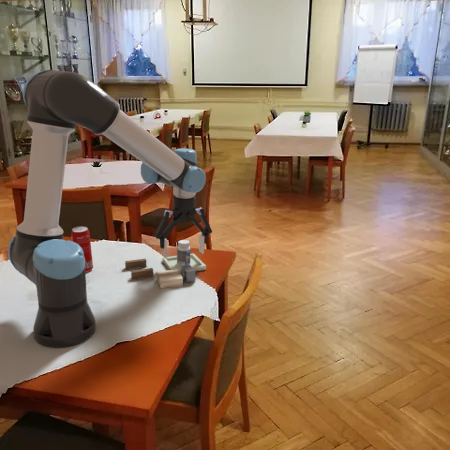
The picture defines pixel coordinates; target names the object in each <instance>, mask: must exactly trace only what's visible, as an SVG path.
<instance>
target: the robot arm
mask: <svg viewBox="0 0 450 450" xmlns="http://www.w3.org/2000/svg"><path fill="white" fill-rule="evenodd" d="M22 97H23V98H22V99H23V102H24V104H25V106H26V108H27V116H26V117H27V118H26V119H27V120H26V122H27V124H28V125H29V126H30V128H31V129H32V135H31V136H32V137H31V145H30V146H31V147H30V154H29V155H30V156H29V157H30V158H29V165H28V166H29V167H28V175H27V186H26V193H25V195H26V196H25V206H24V216H23V221H22V222H21V223H20V224H18V225H17V226H16V229H15V230H16V231H15V235H14V236H13V237H12V238H11V239H10V241H9V243H8V247H7V255H8V256H7V257H8V259H9V262H10V263H11V264H12V266H13V268H14V269H15V270H16V271H18V273H20V274H21V275H23V276H25V278H26V279H28V280H29V281H30V282H31V283H33V284H34V285H35V287H36V295H37V296H36V297H37V302H38V303H37V304H38V305H37V306H38V308H37V312H36V316H35V320H34V324H33V338H34V340H35V341H36V342H37V343H38V344H39V345H42V346H45V347H49V348H66V347H71V346H75V345H78V344H80V343H83V342H85V341H86V340H88V339H90V338H91V337H92V336H93V335H94V333H95V332H96V328H97V326H96V325H97V324H96V317H95V316H94V313H93V311H92V309H91V307H90V304H89V303H88V296H87V279H86V276H87V275H86V274H87V273H86V272H85V258H84V253H83V250H82V248H81V247H80V246H79V245H78V244H77V243H75V242H72V240H69V239H68V240H65V239H64V229H63V228H62V227H61V226H60V225H59V224H60V223H59V220H60V214H61V207H62V206H61V204H62V195H63V187H64V179H65V178H64V177H65V170H66V162H67V153H68V143H69V136H70V135H71V134H73V133H74V132H75V131H76V128H77V126H80V127H82V128H84V129H86V130H88V131H90V133H93V134H94V135H96V136H99V135H103V136H105V138H107V139H108V140H110V141H111V142H113V143H114V144H115V145H117V146H118V147H120V148H121V149H122V150H124V151H126V152H127V153H128V154H130V155H132V156H133V157H134V158H136V159H137V160H138V161H140V162H142V163H141V165H140V175H141V178H142V180H143V181H144V182H145V183H146V184H149V185H150V184H153V185H155V184H159V183H161V184H162V185H163V184H164V185H166V186H168V187H169V186H170V187H173V188H172V189H173V190H172V192H173V193H172V194H173V198H172V210H167V209H164V210H163V215H162V218H161V220H160V222H159V224H158V226H157V228H156V230H155V232H154V234H153V235H154V237H155V238H156V239H157V240H159V248H160V249H162V251H161V252H162V258H163V257H164V258H167V257H168V239H167V237H168V235H170V234H171V232H172V230H174V228H175V227H176V226H177V225H178V224H179V223H180V224H183V223H187V224H188V223H190V222H191V223H193V225H195V227H196V228H197V229H198V231H199V232H200V233H199V238H198V239H199V243H198V252H199V253H200V254H202V255H203V254H204V252H205V244H207V239H208V238H207V237H208V236H209V234H212V233H213V230H212V228H211V226H210V224H209V220H207V217H206V215H205V208H203V207H201V206H199V207H198V208H196V194H197V193H199V192H200V191H201V190H203V188H204V187H205V185H206V180H207V177H206V176H207V175H206V173H205V171H204V170H203V169H202V168H200V167H198V165H197V164H198V160H197V159H198V157H197V156H198V155H197V151H196V150H194V149H191V148H177V149H174V150H172V148H169V147H168V146H167V145H166V144H165V143H163V142H162V141H161V140H160V139H158V138H157V137H156V136H154V135H153V134H152V133H151V132H149V131H148V130H147V129H145V128H144V127H143V126H142V125H140V124H139V123H138V122H136V120H135V119H133V118H131V117H130V116H129V115H128V114H126V113H125V112H124V111H123V110H121V106H120V103H119V102H118V101H117V100H116V99H115V98H113V97H112V96H111V95H110V94H108V93H107V92H106V91H104V89H102V88H101V87H100V86H98V85H97V84H96V83H94V82H93V81H91V79H90V78H87V77H86V76H84V75H82V74H80V73H78V72H75V71H64V70H55V69H47V70H46V69H45V70H41V71H37V72H34V73H33V74H32V75H31V76H30V77H28V78H27V79H26V81H25V83H24V85H23V89H22ZM196 214H198V215H199V218H200V220H201V222H202V224H203V226H204V227H203V226H202V225H201V224H200V223H199V221H198V220H197V219H196V218H195V215H196ZM171 216H173V217H172V218H171ZM170 218H171V219H170ZM169 219H170V222H169ZM168 222H169V223H168ZM167 223H168V224H167Z"/></svg>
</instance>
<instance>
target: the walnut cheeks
mask: <svg viewBox="0 0 450 450" xmlns="http://www.w3.org/2000/svg"><path fill="white" fill-rule="evenodd" d="M124 264H125V267H124V268H125V269H126V270H131V271H130V272H131V279H132V281H133V280H134V281H135V280H139V279H140V280H141V279H147V278H151V277H152V278H153V277H154V268H153V267H149V268H147V266H148V265H147V259H146V258H139V259H132V260H131V259H130V260H125V262H124ZM138 268H139V269H138ZM140 268H141V269H140ZM133 269H136V270H133Z"/></svg>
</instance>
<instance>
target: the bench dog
mask: <svg viewBox="0 0 450 450" xmlns="http://www.w3.org/2000/svg"><path fill="white" fill-rule="evenodd" d="M181 276H182V278H183V282H185V283H186V284H190V283H196V271H195V270H194V269H193V268H192V267H191V265H185V266H181Z"/></svg>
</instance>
